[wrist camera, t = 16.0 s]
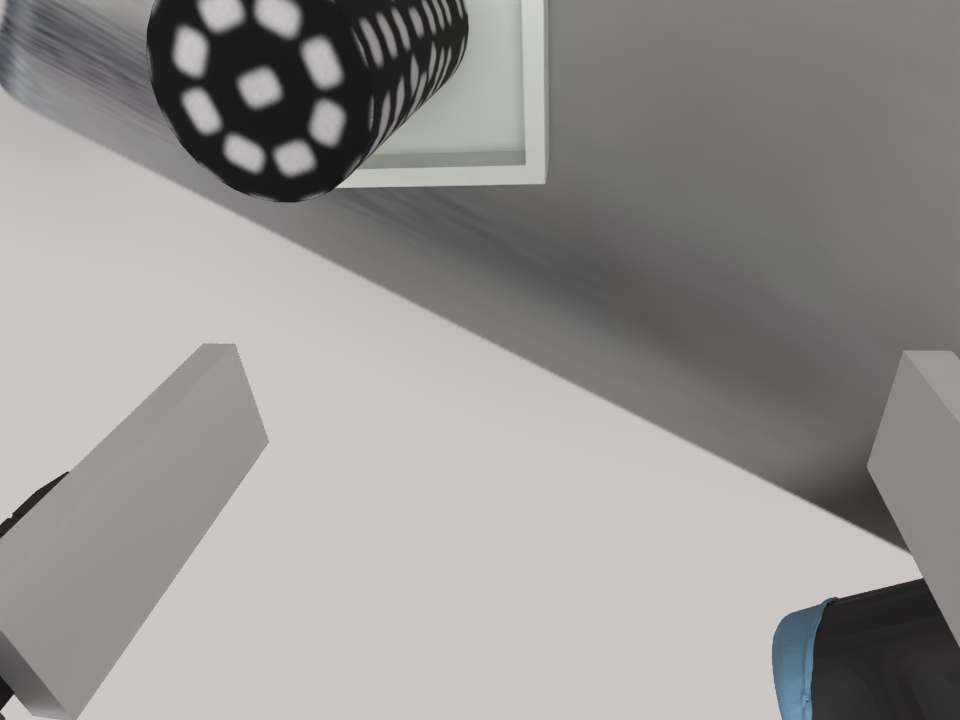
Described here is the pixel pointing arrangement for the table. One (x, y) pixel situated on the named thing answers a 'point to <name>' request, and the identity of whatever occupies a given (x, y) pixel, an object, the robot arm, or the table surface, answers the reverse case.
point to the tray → (478, 110)
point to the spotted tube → (297, 83)
